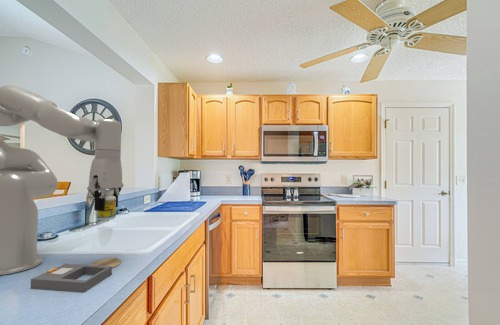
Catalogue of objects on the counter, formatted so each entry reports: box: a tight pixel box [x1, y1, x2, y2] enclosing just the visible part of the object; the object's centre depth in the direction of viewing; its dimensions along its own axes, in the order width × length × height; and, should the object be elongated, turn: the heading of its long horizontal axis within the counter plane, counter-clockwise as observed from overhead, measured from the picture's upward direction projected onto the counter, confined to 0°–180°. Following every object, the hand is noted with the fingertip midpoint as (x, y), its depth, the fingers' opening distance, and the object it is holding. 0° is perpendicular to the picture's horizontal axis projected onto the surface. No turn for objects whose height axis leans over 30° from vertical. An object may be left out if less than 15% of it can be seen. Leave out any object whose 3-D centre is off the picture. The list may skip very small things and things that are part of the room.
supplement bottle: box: [96, 189, 117, 221], centre depth 76 cm, size 5×5×10 cm
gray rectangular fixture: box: [30, 263, 113, 293], centre depth 65 cm, size 16×10×3 cm, turn 83°
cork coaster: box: [90, 257, 122, 269], centre depth 75 cm, size 9×9×1 cm
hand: (106, 208), depth 76 cm, fingers closed on supplement bottle, 5 cm apart
